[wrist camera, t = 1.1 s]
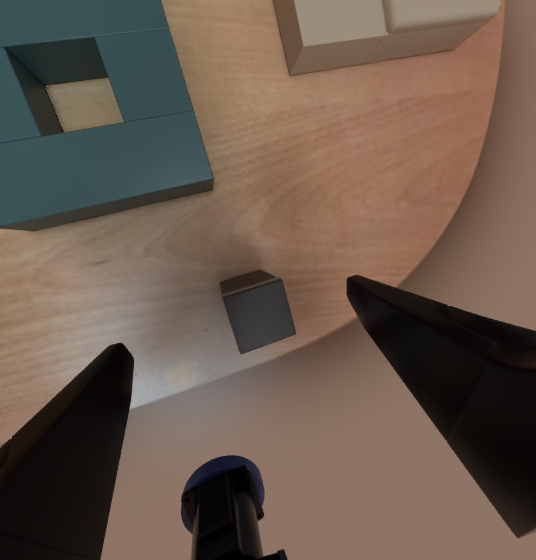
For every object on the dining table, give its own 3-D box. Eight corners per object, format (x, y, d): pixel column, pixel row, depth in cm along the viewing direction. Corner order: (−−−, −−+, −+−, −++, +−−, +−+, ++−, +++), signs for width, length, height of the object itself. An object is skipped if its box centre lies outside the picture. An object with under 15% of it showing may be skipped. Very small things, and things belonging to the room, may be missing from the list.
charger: (272, 308, 23) (297, 334, 17) (231, 322, 23) (240, 355, 16) (261, 268, 22) (282, 278, 16) (218, 281, 22) (221, 298, 15)
